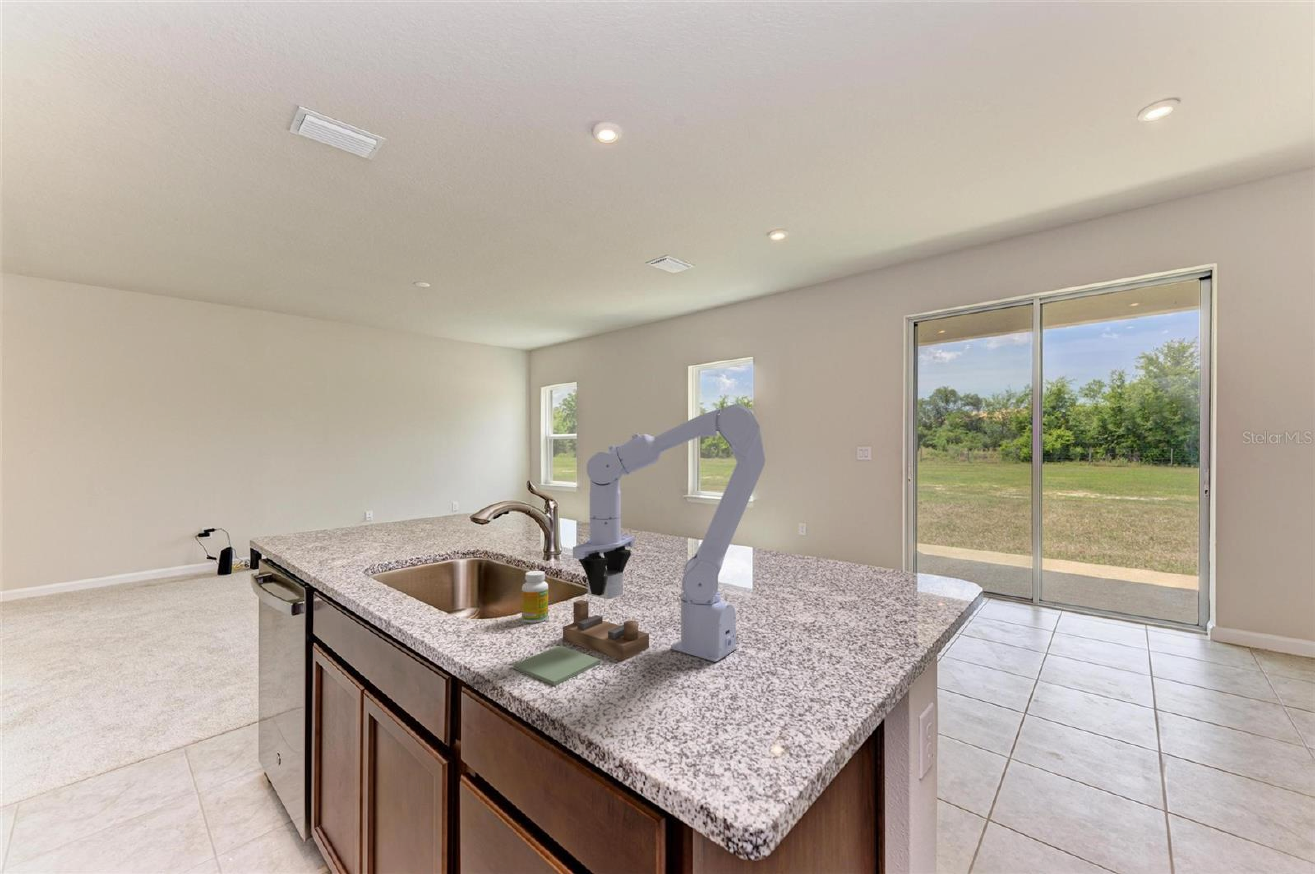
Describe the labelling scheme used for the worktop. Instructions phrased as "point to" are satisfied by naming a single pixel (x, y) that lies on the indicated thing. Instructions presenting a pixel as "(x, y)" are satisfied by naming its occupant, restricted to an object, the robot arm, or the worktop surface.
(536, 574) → the supplement bottle
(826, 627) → the worktop surface
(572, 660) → the rubber mat
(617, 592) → the lever cap
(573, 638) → the plane body
